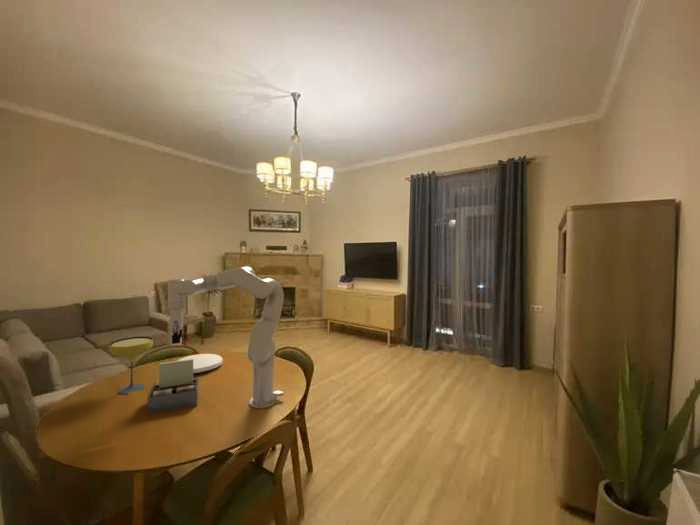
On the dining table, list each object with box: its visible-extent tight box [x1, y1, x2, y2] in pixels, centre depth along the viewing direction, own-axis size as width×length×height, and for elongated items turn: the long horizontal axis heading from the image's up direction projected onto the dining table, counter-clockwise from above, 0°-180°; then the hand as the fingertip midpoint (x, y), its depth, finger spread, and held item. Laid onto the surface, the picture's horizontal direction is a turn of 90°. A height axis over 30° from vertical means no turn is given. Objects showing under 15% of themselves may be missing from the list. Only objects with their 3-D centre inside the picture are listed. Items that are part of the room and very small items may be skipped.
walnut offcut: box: [176, 385, 194, 393], centre depth 133 cm, size 7×3×8 cm, turn 116°
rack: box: [147, 376, 200, 416], centre depth 134 cm, size 19×14×9 cm
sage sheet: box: [158, 359, 194, 388], centre depth 138 cm, size 14×1×18 cm, turn 117°
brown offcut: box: [153, 388, 172, 397], centre depth 129 cm, size 7×3×8 cm, turn 115°
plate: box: [177, 353, 224, 374], centre depth 178 cm, size 28×6×27 cm
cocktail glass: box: [108, 336, 154, 395], centre depth 148 cm, size 18×18×25 cm
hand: (177, 340), depth 138 cm, fingers open, 9 cm apart
